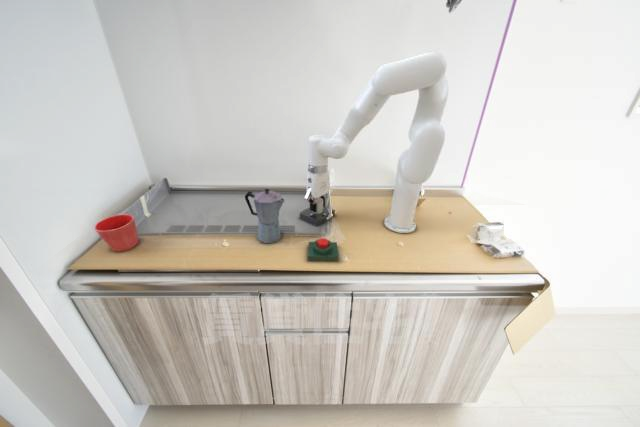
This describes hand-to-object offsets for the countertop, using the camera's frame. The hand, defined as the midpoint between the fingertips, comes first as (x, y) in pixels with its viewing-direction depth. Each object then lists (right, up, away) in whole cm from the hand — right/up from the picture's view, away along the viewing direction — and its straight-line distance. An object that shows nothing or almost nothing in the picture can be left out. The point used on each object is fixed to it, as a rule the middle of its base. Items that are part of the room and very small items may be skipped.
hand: (317, 208), depth 103 cm
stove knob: (0, -1, +1) cm, 1 cm away
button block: (+2, -16, -20) cm, 26 cm away
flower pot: (-68, -14, -17) cm, 72 cm away
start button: (+2, -13, -22) cm, 25 cm away
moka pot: (-19, -11, -12) cm, 25 cm away
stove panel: (0, -4, +2) cm, 4 cm away
